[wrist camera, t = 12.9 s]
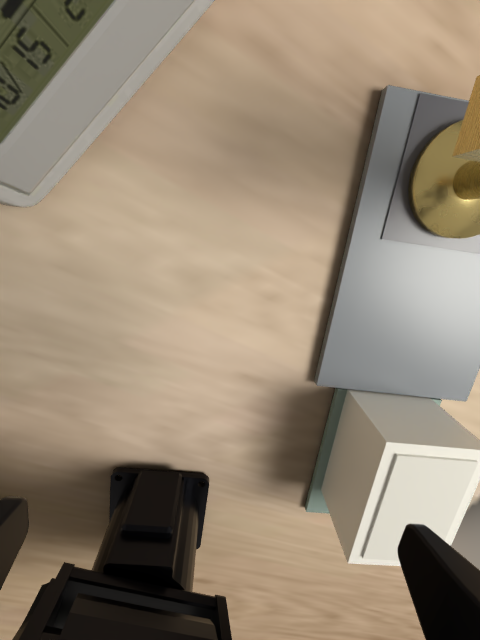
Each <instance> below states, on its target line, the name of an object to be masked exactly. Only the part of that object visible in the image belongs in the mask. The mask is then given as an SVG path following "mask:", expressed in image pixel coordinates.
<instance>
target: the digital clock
mask: <svg viewBox="0 0 480 640" xmlns="http://www.w3.org/2000/svg"><path fill="white" fill-rule="evenodd" d="M214 1H215V0H0V204H4V205H9V206H16V207H31V206H34V205H36V204H37V203H39V202H40V201H41V200H42V199H43V198H44V197H45V196H46V195H47V194H48V193H49V192H50V191H51V190H52V189H53V187H54V186H55V185H56V184H57V183H58V182H59V181H60V180H61V179H62V177H63V176H64V175H65V174H66V173H67V172H68V171H69V169H70V168H71V167H72V166H73V165H74V164H75V162H76V161H77V160H78V159H79V158H80V157H81V156H82V154H83V153H84V152H85V151H86V150H87V149H88V147H89V146H90V145H91V144H92V143H93V142H94V140H95V139H96V138H97V137H98V136H99V135H100V133H101V132H102V131H103V130H104V129H105V128H106V126H107V125H108V124H109V123H110V122H111V121H112V119H113V118H114V117H115V116H116V115H117V114H118V113H119V111H120V110H121V109H122V108H123V107H124V106H125V104H126V103H127V102H128V101H129V100H130V99H131V97H132V96H133V95H134V94H135V93H136V92H137V90H138V89H139V88H140V87H141V86H142V85H143V83H144V82H145V81H146V80H147V79H148V78H149V76H150V75H151V74H152V73H153V72H154V71H155V69H156V68H157V67H158V66H159V65H160V64H161V63H162V61H163V60H164V59H165V58H166V57H167V56H168V54H169V53H170V52H171V51H172V50H173V49H174V47H175V46H176V45H177V44H178V43H179V42H180V40H181V39H182V38H183V37H184V36H185V35H186V33H187V32H188V31H189V30H190V29H191V28H192V26H193V25H194V24H195V23H196V22H197V21H198V20H199V18H200V17H201V16H202V15H203V14H204V12H205V11H206V10H207V9H208V8H209V7H210V5H211V4H212V3H213V2H214Z"/></svg>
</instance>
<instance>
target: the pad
mask: <svg viewBox="0 0 480 640" xmlns="http://www.w3.org/2000/svg"><path fill="white" fill-rule="evenodd" d="M350 390H353V389H350ZM360 391H363V390H360ZM370 392H372V391H370ZM346 393H347V389H344V388H335V392H334V396H333V400H332V404H331V407H330V411H329V415H328V419H327V423H326V427H325V431H324V435H323V438H322V442H321V446H320V450H319V454H318V458H317V462H316V466H315V470H314V473H313V477H312V481H311V485H310V489H309V493H308V497H307V501H306V505H305V509H306V512H316V513H329V510H328V507H327V505H326V502H325V499H324V496H323V494H322V491H321V488H322V484H323V481H324V477H325V473H326V469H327V465H328V462H329V458H330V454H331V450H332V446H333V443H334V439H335V435H336V431H337V427H338V424H339V420H340V416H341V412H342V408H343V405H344V401H345V397H346ZM380 393H382V392H380ZM390 394H391V393H390ZM430 399H432V400H433V401H434V402H435V403H436V404H438V405H439V406H440V403H441V401H442V400H441V399H438V398H430Z"/></svg>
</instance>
